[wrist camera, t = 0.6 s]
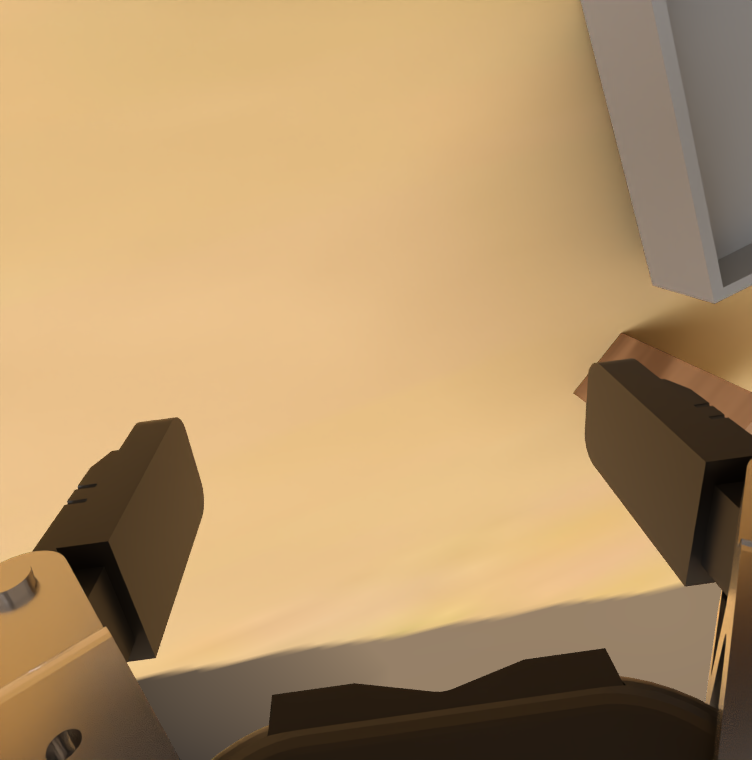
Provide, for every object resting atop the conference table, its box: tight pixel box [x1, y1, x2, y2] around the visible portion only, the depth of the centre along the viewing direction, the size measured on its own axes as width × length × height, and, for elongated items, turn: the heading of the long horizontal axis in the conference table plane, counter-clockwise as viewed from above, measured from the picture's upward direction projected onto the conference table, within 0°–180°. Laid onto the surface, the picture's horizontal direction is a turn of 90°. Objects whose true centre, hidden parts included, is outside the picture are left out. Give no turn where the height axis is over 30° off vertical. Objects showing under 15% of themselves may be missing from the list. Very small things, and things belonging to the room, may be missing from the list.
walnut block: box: [574, 333, 752, 435], centre depth 33 cm, size 5×5×12 cm
